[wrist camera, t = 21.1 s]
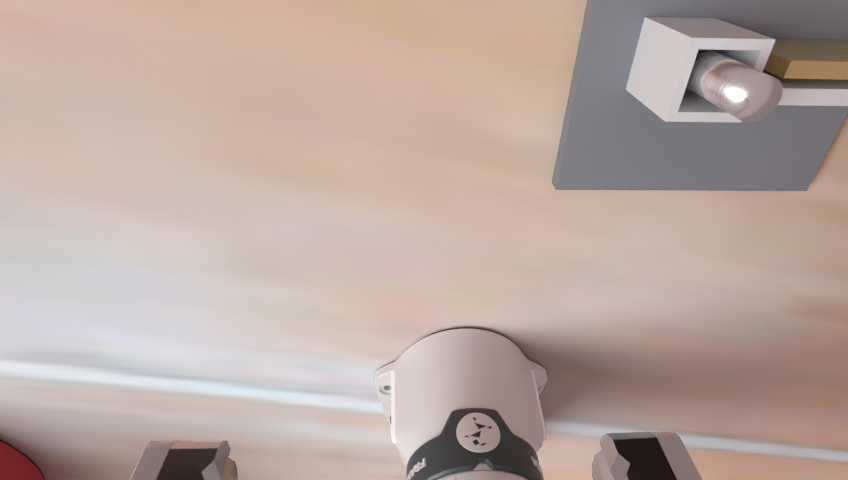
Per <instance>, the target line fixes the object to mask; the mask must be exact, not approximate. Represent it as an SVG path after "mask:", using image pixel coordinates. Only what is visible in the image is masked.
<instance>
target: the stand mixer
mask: <svg viewBox="0 0 848 480" xmlns="http://www.w3.org/2000/svg"><path fill="white" fill-rule="evenodd" d="M0 480H44V479H43V477H42V475H41V473H40V471H39V469H38V468H37V467H36V466H35V465H34V464H33V463H32V462H31V461H30V460H29V459H28V458H27V457H25V456H24V455H23V454H21V453H20V452H19V451H17V450H15V449H14V448H12V447H11V446H9V445H7V444H5V443H3V442H1V441H0Z"/></svg>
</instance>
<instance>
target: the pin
mask: <svg viewBox="0 0 848 480" xmlns="http://www.w3.org/2000/svg"><path fill="white" fill-rule="evenodd" d="M686 87H687V88H688V89H690V90H692V91H693V92H695V93H697V94H698V95H700V96H702V97H703V98H705V99H706V100H708V101H710V102H711V103H713V104H715V105H716V106H718V107H720V108H721V109H723V110H724V111H726V112H728V113H729V114H731V115H733V116H734V117H736V118H738V119H739V120H741V121H744V122H755V121H758V120H761V119H763V118H764V117H766V116H768V115H769V114H770V113H771V112H772V111H773V110H774V109H775V108H776V107H777V105H778V104H779V102H780V100H781V97H782V93H783V89H782V84H781V82H780V81H779V80H778V79H776V78H775V77H772V76H770V75H768V74H765V73H763V72H761V71H759V70H756V69H754V68H752V67H750V66H747V65H745V64H743V63H740V62H738V61H736V60H734V59H731V58H729V57H727V56H725V55H722V54H720V53H718V52H716V51H713V50H708V49H699V50H698V53H697V56H696V59H695V62H694V65H693V68H692V71H691V74H690V77H689V80H688V83H687V86H686Z"/></svg>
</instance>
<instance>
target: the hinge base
mask: <svg viewBox="0 0 848 480" xmlns="http://www.w3.org/2000/svg"><path fill="white" fill-rule="evenodd" d="M776 39H809V40H848V0H588V1H587V6H586V11H585V16H584V22H583V27H582V32H581V37H580V42H579V47H578V52H577V57H576V62H575V68H574V73H573V78H572V83H571V88H570V93H569V98H568V103H567V108H566V114H565V119H564V124H563V129H562V134H561V139H560V144H559V149H558V154H557V159H556V165H555V170H554V175H553V180H552V184H553V185H554V187H555V189H556V190H730V191H807V189H808V188H809V186H810V184H811V182H812V180H813V178H814V176H815V175H816V173H817V171H818V169H819V167H820V165H821V163H822V161H823V160H824V158H825V156H826V154H827V152H828V150H829V148H830V147H831V145H832V143H833V141H834V139H835V137H836V135H837V133H838V132H839V130H840V128H841V126H842V124H843V122H844V120H845V118H846V117H847V115H848V80H838V79H790V78H781V77H779V76H777V75H775V74H772V73H770V72H768V71H766V70H764V67H765V65H766V62H767V60H768V58H769V55H770V53H771V50H772V48H773V45H774V43H775V41H776ZM699 49H708V50H713V51H716V52H718V53H720V54H722V55H725V56H727V57H729V58H731V59H734V60H736V61H738V62H740V63H743V64H745V65H747V66H750V67H752V68H754V69H756V70H759V71H761V72H763V73H765V74H768V75H770V76H772V77H775V78H776V79H778V80H779V81H780V82H781V84H782V89H783V93H782V97H781V100H780V102H779V104H778V105H777V107H776V108H775V109H774V110H773V111H772V112H771V113H770V114H769V115H768V116H766V117H764V118H763V119H761V120H758V121H755V122H744V121H741V120H739V119H738V118H736V117H734V116H733V115H731V114H729V113H728V112H726V111H724V110H723V109H721V108H720V107H718V106H716V105H715V104H713V103H711V102H710V101H708V100H706V99H705V98H703V97H702V96H700V95H698V94H697V93H695V92H693V91H692V90H690V89H688V88H687V87H686V86H687V83H688V80H689V77H690V74H691V71H692V68H693V65H694V62H695V59H696V56H697V53H698V50H699Z"/></svg>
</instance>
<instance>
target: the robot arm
mask: <svg viewBox="0 0 848 480" xmlns="http://www.w3.org/2000/svg"><path fill="white" fill-rule="evenodd" d="M546 382H547V373H546V370H545V369H544V368H543V367H542V366H540V365H538V364H536V363H534V362H532V361H530V360H528V359H527V358H526V357H525V356H524V354H523V353H522V352H521V350H520V349H519V348H518V347H517V346H516V345H515V344H514V343H513V342H511V341H510V340H509V339H507V338H505V337H503V336H501V335H499V334H496V333H493V332H490V331H486V330H480V329H453V330H447V331H442V332H439V333H435V334H432V335H430V336H428V337H425V338H423V339H421V340H420V341H418V342H416V343H415V344H413V345H412V346H411V347H410V348H408V349H407V350H406V351H405V352H404V353H403V354H402V356H401V357H400V358H398V359H397V360H396V361H395V362H392V363H390V364H388V365H386V366H383V367H382V368H380V369H378V370H377V371H376V372H375V373H374V383H375V386H376V389H377V392H378V395H379V398H380V401H381V403H382V406H383V409H384V412H385V415H386V418H387V420H388V423H389V426H390V429H391V432H392V442H393V443H395V444H396V446H397V450H398V452H399V454H400V457H401V459H402V461H403V463H404V465H405V467H406V469H407V479H406V480H544V478H543V473H542V469H541V467H540V465H539V461H538V457H537V454H536V452H537V451H538V450H539V449H540V448H541V446H542V443H543V441H544V440H546V429H545V424H544V419H543V414H542V409H541V404H540V400H539V395H540V393H541V391H542V389H543V388H544V386H545V384H546ZM600 445H601V448H602V450H601V451H600V452H598V453H597V454H595V456H594V460H593V463H592V477H593V480H702V478H701V476H700V474H699V472H698V471H697V469H696V467H695V465H694V463H693V461H692V459H691V457H690V455H689V454H688V452H687V450H686V448H685V446H684V444H683V442H682V440H681V439H680V437H679V436H678V435H677V434H676V433H673V432H635V433H609V434H605V435H603V436H602V438H601V441H600ZM229 452H230V447H229V445H228V442H227V441H151V442H150V443H149V445H148V446H147V447H146V448H145V449H144V451H143V453H142V455H141V457H140V459H139V461H138V463H137V465H136V467H135V469H134V471H133V473H132V475H131V477H130V479H129V480H237V479H238V477H237V467H236V464H235V461H233V460H232V459H230V458H228V456H229Z"/></svg>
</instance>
